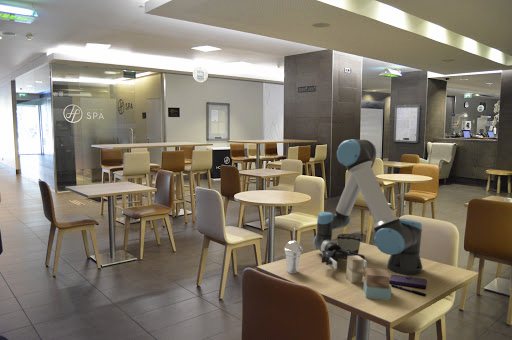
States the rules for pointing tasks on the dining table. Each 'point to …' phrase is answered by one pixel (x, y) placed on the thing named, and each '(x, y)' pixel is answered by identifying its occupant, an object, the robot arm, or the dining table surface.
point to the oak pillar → (354, 269)
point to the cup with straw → (293, 254)
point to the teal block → (377, 292)
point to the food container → (349, 242)
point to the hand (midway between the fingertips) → (351, 265)
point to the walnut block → (377, 278)
